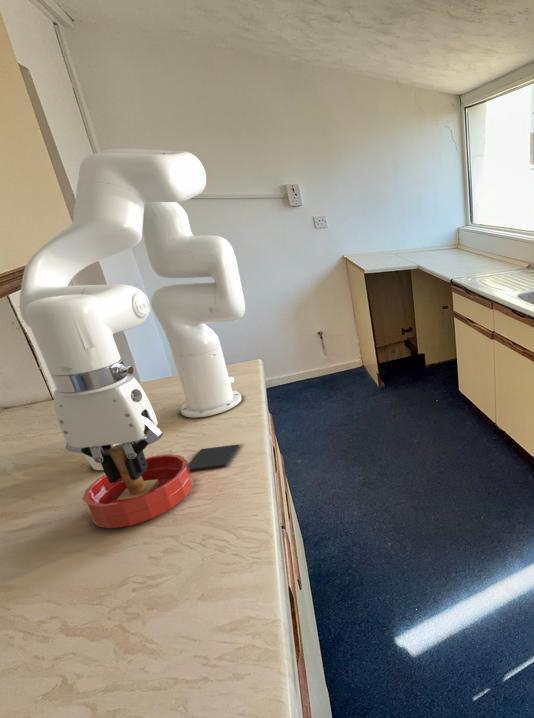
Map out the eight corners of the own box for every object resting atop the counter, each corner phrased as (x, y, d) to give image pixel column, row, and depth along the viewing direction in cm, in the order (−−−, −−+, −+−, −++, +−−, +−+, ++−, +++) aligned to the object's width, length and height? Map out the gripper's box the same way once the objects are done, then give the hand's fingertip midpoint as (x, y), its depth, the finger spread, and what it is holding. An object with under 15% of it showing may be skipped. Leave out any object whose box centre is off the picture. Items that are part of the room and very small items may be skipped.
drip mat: (202, 450, 84) (201, 448, 84) (239, 446, 85) (238, 444, 85) (185, 471, 77) (184, 469, 77) (225, 466, 79) (225, 464, 79)
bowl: (126, 482, 74) (117, 460, 73) (206, 471, 77) (200, 450, 76) (72, 537, 62) (60, 512, 61) (169, 522, 65) (161, 498, 64)
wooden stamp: (137, 493, 70) (111, 441, 65) (163, 489, 71) (139, 438, 66) (122, 511, 67) (93, 457, 62) (149, 507, 68) (124, 454, 63)
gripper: (166, 362, 65) (195, 455, 72) (46, 371, 62) (87, 469, 68) (138, 381, 59) (173, 483, 65) (1, 393, 55) (52, 500, 61)
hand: (129, 475), depth 66 cm, fingers closed on wooden stamp, 2 cm apart
